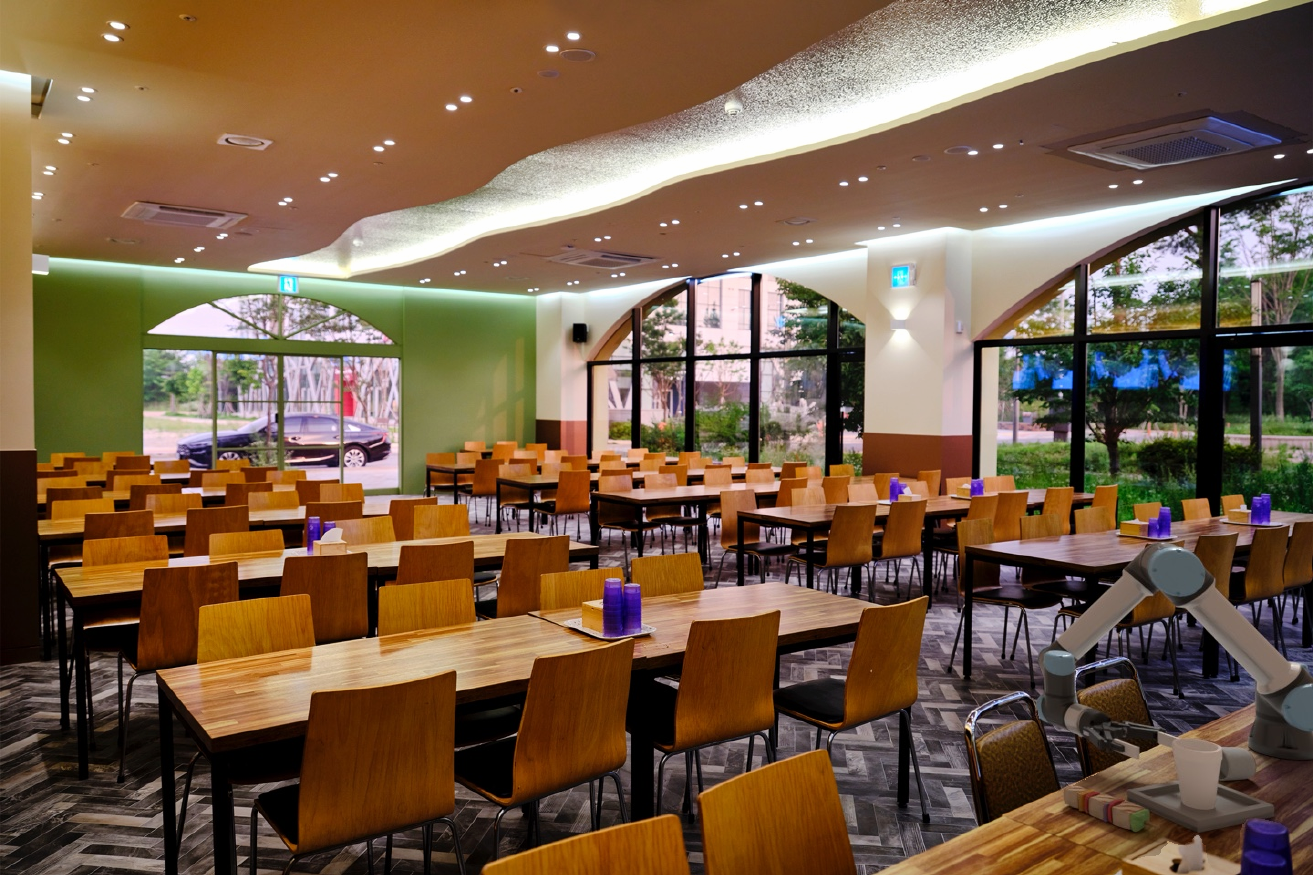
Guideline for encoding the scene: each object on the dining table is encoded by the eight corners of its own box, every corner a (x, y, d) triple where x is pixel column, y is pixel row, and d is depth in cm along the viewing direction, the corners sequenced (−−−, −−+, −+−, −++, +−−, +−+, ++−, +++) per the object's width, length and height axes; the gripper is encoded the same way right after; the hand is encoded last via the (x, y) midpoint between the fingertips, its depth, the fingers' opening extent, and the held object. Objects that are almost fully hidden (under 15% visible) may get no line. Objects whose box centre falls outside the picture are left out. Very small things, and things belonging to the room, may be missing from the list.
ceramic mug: (1260, 782, 214) (1259, 750, 214) (1229, 785, 212) (1228, 752, 213) (1224, 767, 224) (1223, 736, 224) (1195, 770, 223) (1194, 739, 223)
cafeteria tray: (1199, 786, 212) (1199, 776, 212) (1274, 816, 195) (1273, 804, 195) (1126, 800, 205) (1126, 789, 205) (1197, 832, 188) (1197, 820, 188)
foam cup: (1222, 800, 202) (1221, 742, 202) (1224, 815, 194) (1222, 754, 194) (1173, 792, 206) (1172, 735, 206) (1173, 807, 198) (1171, 748, 198)
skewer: (1060, 807, 202) (1059, 785, 202) (1078, 801, 205) (1078, 779, 205) (1149, 842, 184) (1149, 818, 184) (1168, 835, 187) (1168, 811, 187)
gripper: (1127, 731, 233) (1201, 758, 213) (1049, 744, 225) (1119, 773, 205) (1126, 702, 233) (1200, 726, 213) (1049, 713, 225) (1118, 740, 205)
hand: (1160, 749), depth 209 cm, fingers open, 13 cm apart
